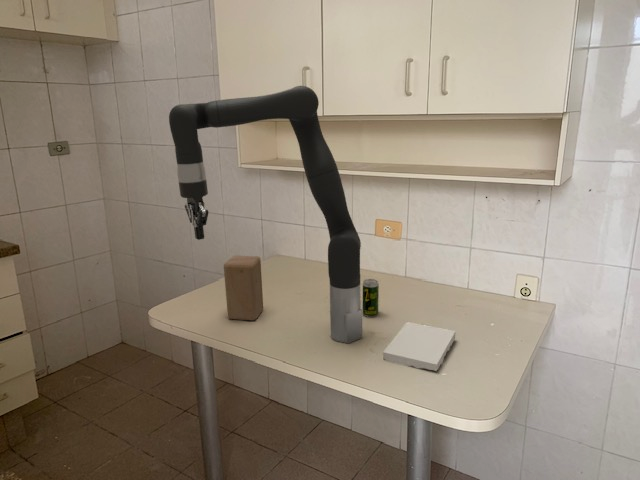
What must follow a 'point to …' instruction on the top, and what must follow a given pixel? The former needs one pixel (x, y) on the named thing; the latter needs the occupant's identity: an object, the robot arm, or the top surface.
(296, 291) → the top surface
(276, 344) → the top surface
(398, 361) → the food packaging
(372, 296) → the beer can
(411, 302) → the top surface
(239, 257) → the wooden block
